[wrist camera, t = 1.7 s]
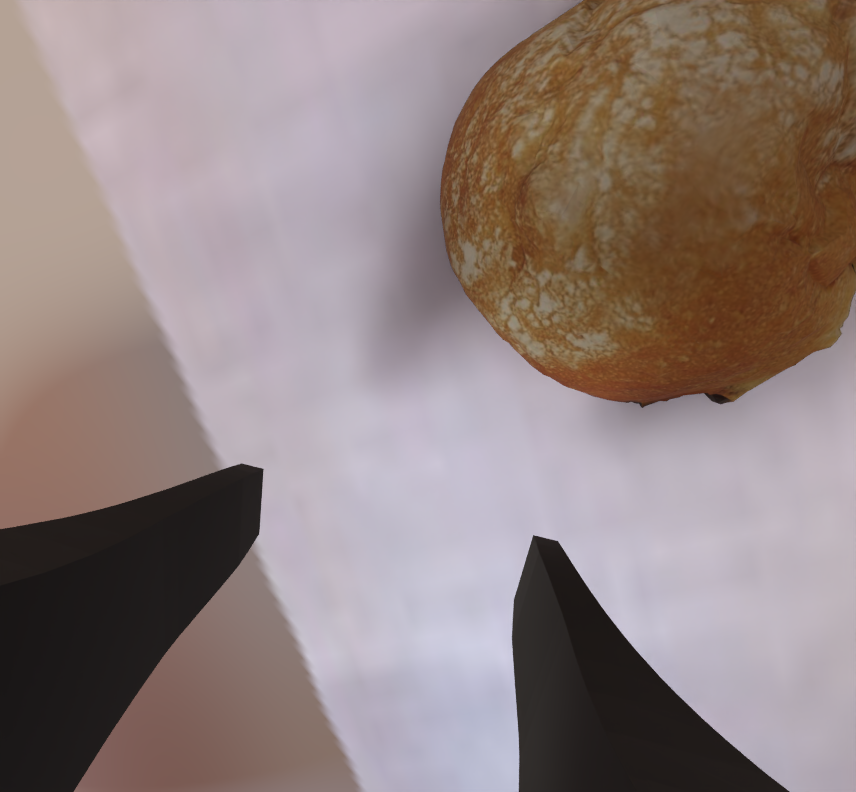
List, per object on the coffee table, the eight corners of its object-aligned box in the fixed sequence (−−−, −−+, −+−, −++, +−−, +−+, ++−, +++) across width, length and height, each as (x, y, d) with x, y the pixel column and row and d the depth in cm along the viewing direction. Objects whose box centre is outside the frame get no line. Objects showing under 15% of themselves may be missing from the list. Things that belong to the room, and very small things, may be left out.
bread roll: (706, 38, 15) (794, -365, 7) (932, 303, 12) (1428, 97, 5) (446, 225, 18) (321, 74, 10) (583, 469, 15) (549, 504, 8)
